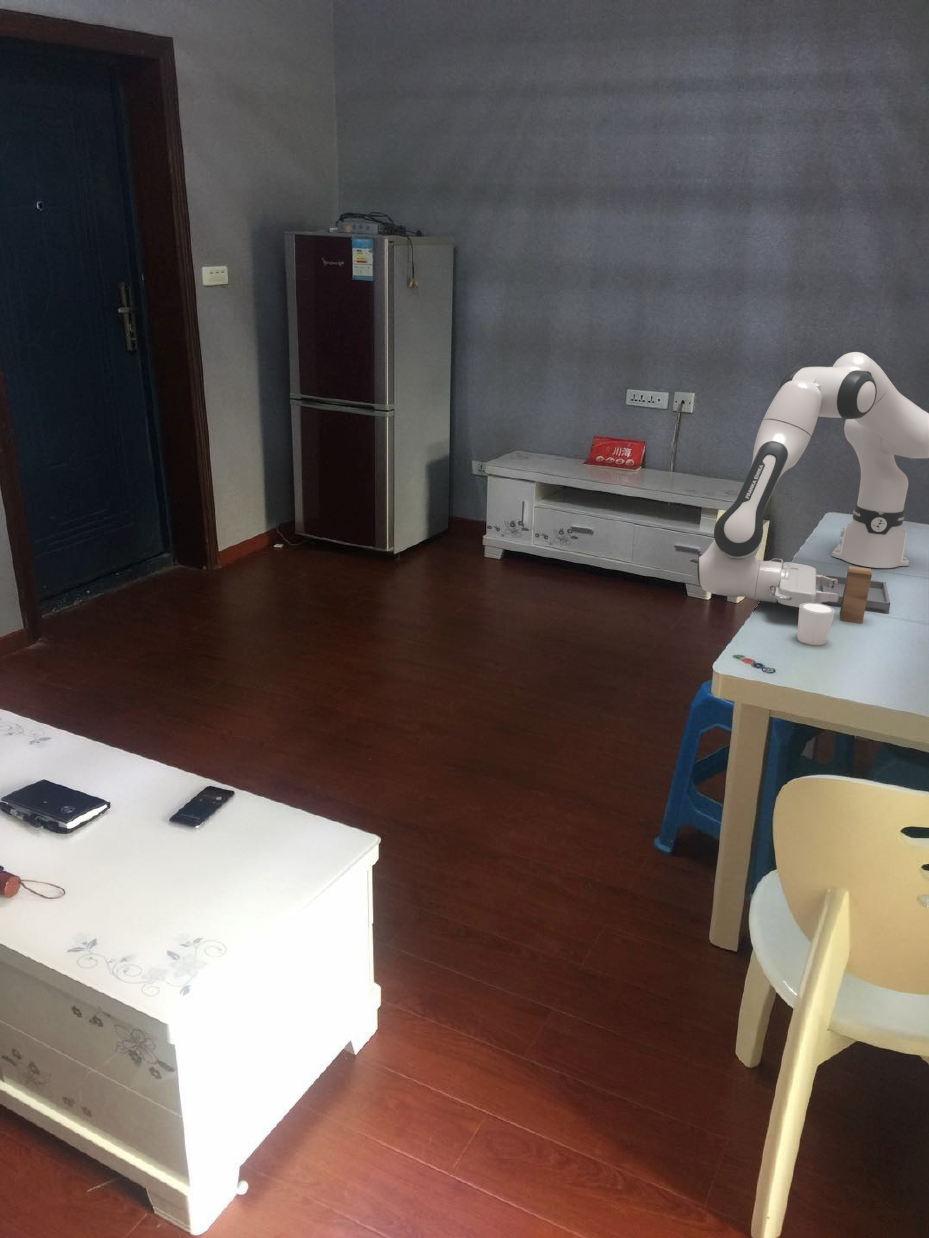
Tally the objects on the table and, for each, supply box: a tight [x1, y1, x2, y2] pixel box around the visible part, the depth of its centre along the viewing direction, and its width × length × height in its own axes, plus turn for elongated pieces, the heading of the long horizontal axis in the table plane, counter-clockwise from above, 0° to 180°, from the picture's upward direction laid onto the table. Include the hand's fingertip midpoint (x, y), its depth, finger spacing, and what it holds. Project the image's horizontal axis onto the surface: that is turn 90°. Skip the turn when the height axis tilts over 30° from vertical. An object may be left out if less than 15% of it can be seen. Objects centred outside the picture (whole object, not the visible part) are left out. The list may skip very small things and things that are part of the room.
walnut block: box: [839, 565, 873, 625], centre depth 207 cm, size 4×4×11 cm
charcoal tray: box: [820, 573, 891, 614], centre depth 221 cm, size 16×14×2 cm
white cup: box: [796, 602, 836, 646], centre depth 195 cm, size 7×7×7 cm
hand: (837, 590), depth 208 cm, fingers open, 8 cm apart
